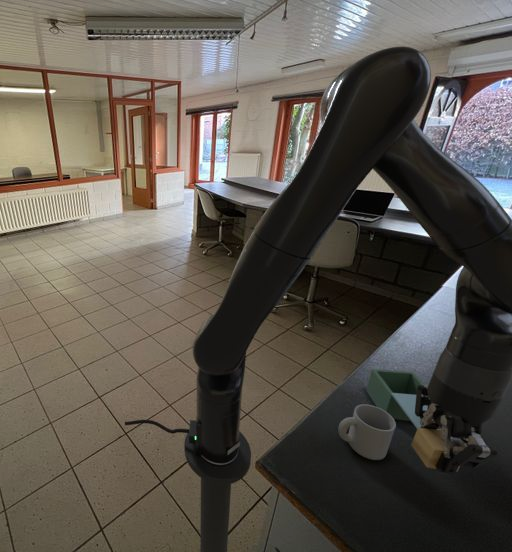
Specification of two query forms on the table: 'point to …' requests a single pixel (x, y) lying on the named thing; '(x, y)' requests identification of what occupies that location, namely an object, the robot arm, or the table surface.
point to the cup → (368, 431)
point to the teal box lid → (409, 407)
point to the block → (429, 446)
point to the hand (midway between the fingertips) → (433, 456)
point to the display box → (391, 389)
